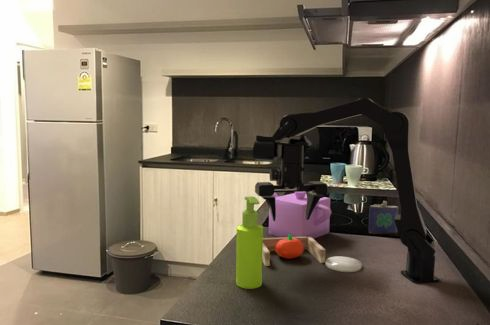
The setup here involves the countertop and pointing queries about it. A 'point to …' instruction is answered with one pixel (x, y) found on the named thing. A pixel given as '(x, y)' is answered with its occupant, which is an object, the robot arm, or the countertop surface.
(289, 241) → the pumpkin
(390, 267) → the countertop surface
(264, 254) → the wooden frame
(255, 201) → the soap dispenser
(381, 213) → the flask
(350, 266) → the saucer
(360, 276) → the countertop surface
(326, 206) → the teapot
